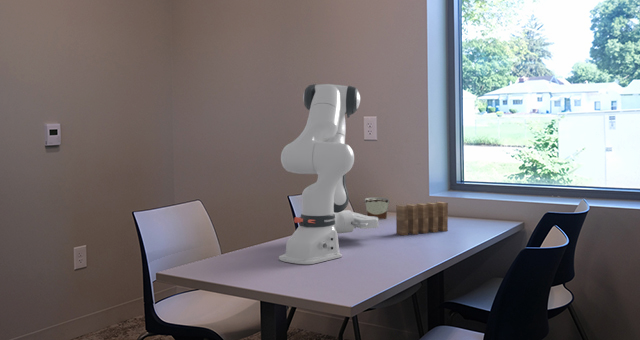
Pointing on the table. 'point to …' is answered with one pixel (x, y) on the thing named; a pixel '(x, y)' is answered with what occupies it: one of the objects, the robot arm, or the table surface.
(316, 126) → the robot arm
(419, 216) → the domino
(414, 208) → the domino
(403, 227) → the domino
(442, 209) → the domino
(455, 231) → the table surface
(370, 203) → the food container
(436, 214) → the domino
